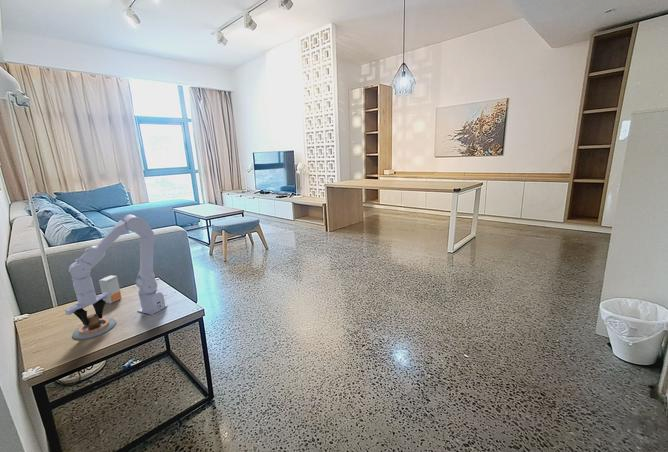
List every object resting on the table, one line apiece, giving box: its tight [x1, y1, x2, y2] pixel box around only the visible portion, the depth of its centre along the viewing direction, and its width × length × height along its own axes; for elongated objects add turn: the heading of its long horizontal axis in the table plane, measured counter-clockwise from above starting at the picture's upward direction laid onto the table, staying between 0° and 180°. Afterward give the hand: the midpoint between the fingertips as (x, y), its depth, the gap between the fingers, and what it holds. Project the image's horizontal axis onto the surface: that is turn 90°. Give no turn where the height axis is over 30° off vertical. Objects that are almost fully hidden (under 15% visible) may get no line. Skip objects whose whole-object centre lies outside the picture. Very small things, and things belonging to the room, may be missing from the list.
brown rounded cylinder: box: [87, 313, 101, 330], centre depth 118 cm, size 4×4×5 cm
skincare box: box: [98, 274, 122, 304], centre depth 140 cm, size 6×4×12 cm
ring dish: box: [71, 317, 117, 341], centre depth 118 cm, size 14×14×2 cm
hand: (93, 321), depth 117 cm, fingers open, 4 cm apart
